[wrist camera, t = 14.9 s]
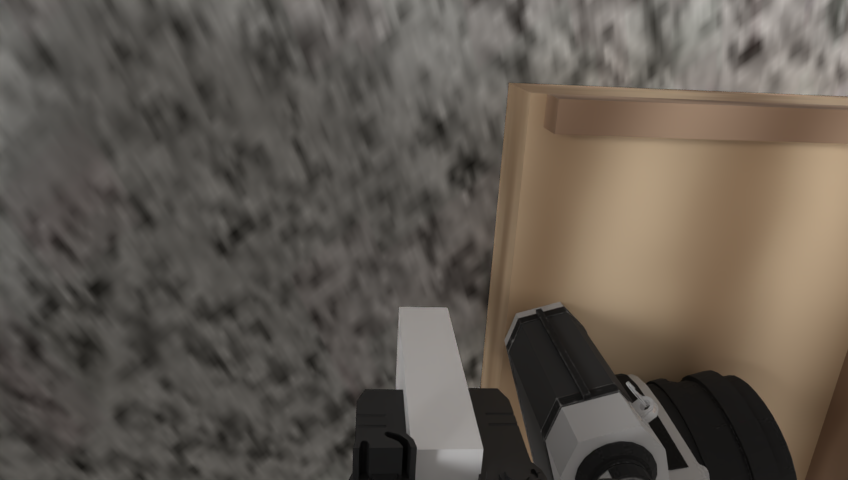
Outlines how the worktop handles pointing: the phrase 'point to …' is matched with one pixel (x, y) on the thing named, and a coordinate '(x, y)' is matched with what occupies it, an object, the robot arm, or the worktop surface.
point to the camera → (633, 413)
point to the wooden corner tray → (685, 243)
